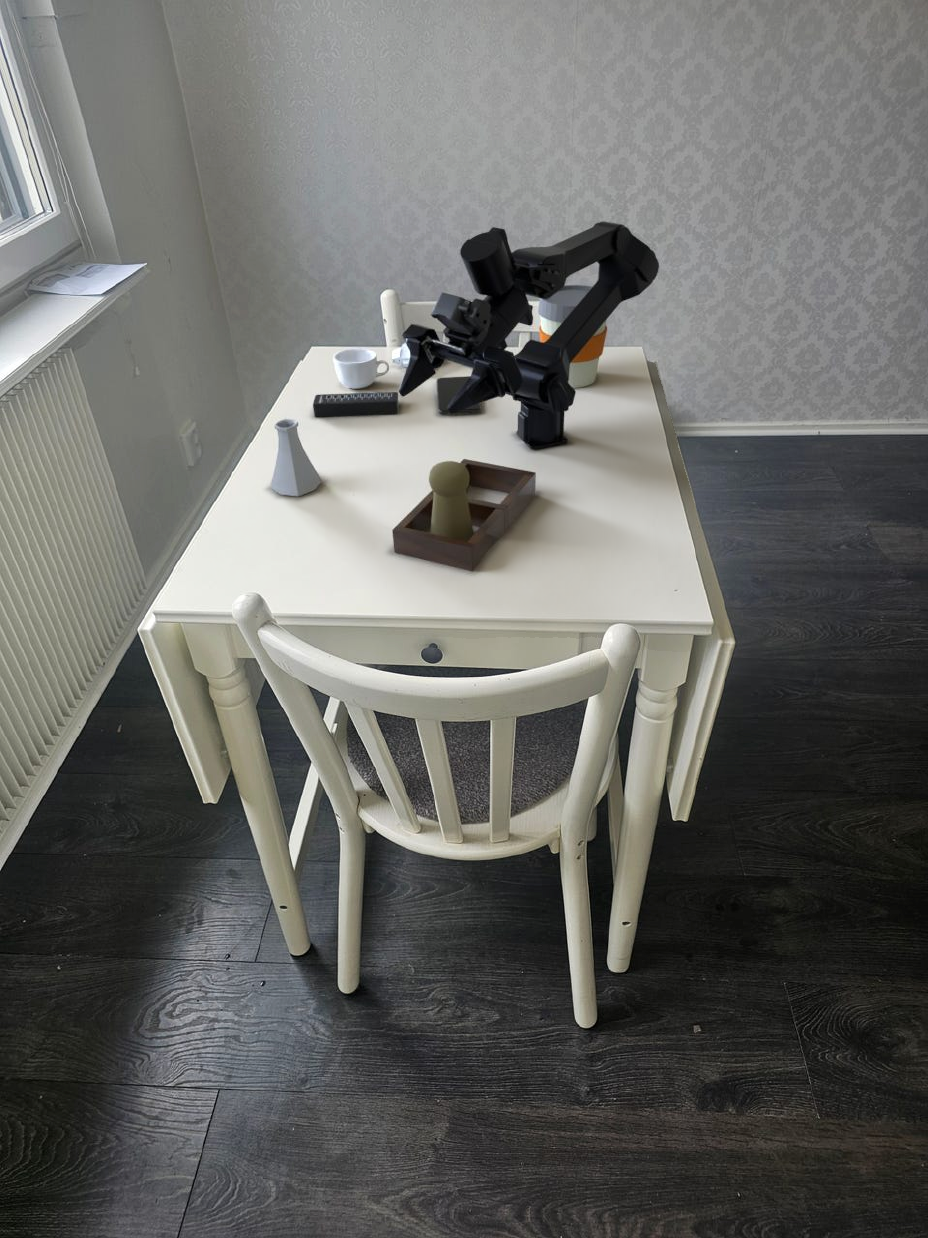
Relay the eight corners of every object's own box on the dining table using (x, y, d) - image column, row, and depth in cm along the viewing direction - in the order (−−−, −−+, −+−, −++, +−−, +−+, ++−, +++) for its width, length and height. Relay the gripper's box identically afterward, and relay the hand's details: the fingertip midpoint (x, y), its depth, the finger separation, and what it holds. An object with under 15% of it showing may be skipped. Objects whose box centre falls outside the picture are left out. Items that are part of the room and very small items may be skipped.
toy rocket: (442, 373, 161) (442, 361, 160) (391, 375, 161) (390, 363, 160) (443, 343, 174) (442, 332, 172) (395, 345, 174) (394, 334, 173)
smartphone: (481, 413, 146) (476, 379, 158) (481, 409, 146) (476, 375, 157) (438, 416, 146) (436, 381, 158) (438, 411, 145) (436, 377, 157)
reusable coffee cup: (608, 367, 161) (614, 285, 152) (601, 393, 151) (607, 308, 142) (542, 363, 163) (544, 283, 154) (531, 389, 154) (532, 305, 145)
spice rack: (464, 479, 128) (463, 458, 126) (535, 493, 124) (536, 472, 122) (394, 552, 112) (392, 529, 110) (472, 571, 108) (471, 548, 106)
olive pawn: (469, 554, 112) (467, 478, 105) (424, 550, 113) (419, 475, 106) (478, 530, 116) (476, 456, 110) (435, 526, 117) (430, 453, 111)
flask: (299, 502, 124) (288, 438, 118) (262, 490, 127) (249, 427, 121) (330, 481, 129) (322, 419, 123) (294, 470, 132) (283, 409, 126)
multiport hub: (398, 414, 147) (397, 401, 146) (314, 417, 147) (312, 404, 146) (399, 403, 151) (398, 391, 149) (317, 406, 151) (315, 394, 149)
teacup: (333, 392, 156) (329, 363, 152) (341, 376, 162) (337, 348, 158) (387, 392, 155) (384, 363, 152) (393, 376, 161) (391, 348, 158)
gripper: (422, 262, 117) (351, 342, 113) (528, 286, 106) (453, 376, 103) (451, 324, 126) (386, 400, 122) (551, 353, 115) (483, 437, 112)
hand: (424, 402), depth 114 cm, fingers open, 9 cm apart
